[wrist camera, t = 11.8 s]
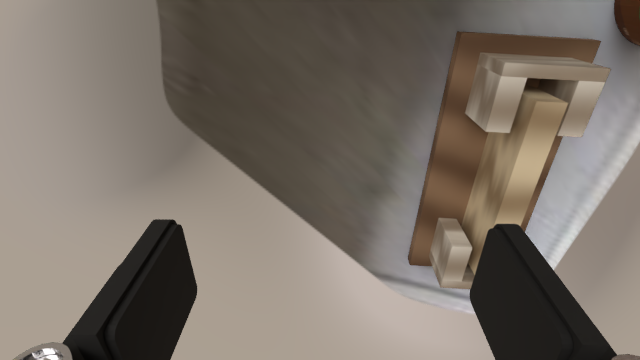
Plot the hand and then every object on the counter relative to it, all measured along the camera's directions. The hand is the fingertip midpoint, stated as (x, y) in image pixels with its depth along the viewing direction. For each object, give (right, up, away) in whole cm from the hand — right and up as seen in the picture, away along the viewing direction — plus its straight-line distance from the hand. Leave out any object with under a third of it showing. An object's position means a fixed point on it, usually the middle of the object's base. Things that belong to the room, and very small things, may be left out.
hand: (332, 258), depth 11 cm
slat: (+17, +3, +26) cm, 31 cm away
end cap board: (+17, +4, +27) cm, 32 cm away
